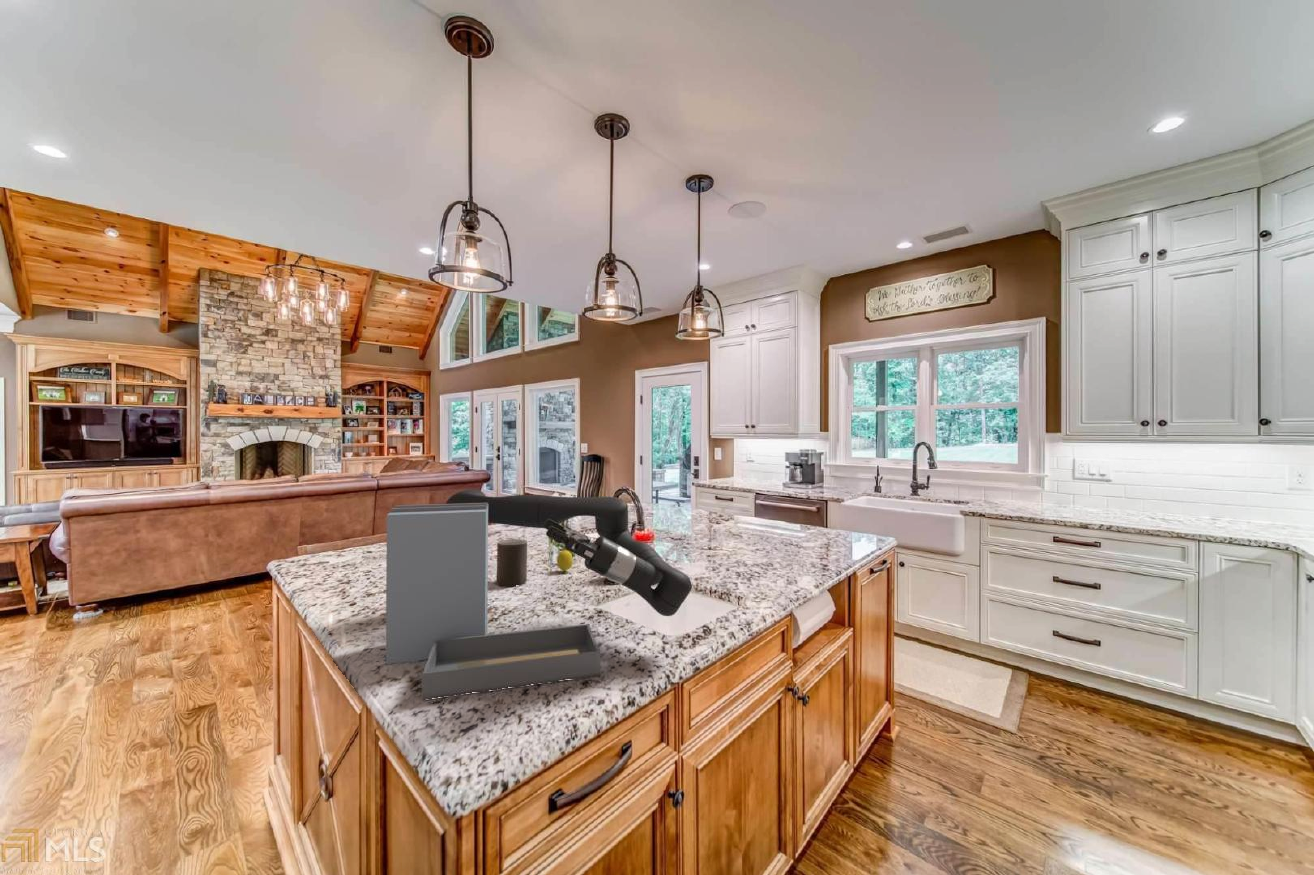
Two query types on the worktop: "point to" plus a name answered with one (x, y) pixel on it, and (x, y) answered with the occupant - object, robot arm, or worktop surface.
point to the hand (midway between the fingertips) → (546, 526)
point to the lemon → (564, 560)
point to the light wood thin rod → (517, 658)
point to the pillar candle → (511, 562)
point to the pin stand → (435, 577)
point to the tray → (449, 653)
